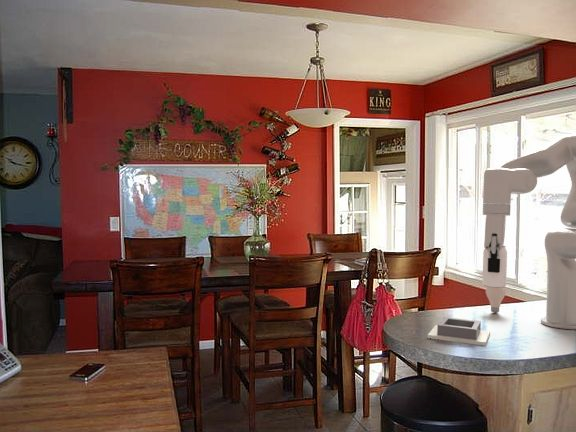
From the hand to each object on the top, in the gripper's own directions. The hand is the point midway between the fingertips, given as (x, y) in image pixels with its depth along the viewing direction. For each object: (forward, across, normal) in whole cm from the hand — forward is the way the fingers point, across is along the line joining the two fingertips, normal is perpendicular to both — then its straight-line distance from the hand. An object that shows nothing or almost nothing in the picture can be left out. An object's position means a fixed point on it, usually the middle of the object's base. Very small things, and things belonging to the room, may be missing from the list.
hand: (494, 270), depth 147 cm
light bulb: (+20, -33, -1) cm, 39 cm away
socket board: (+20, +4, -9) cm, 22 cm away
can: (+5, 0, 0) cm, 5 cm away
